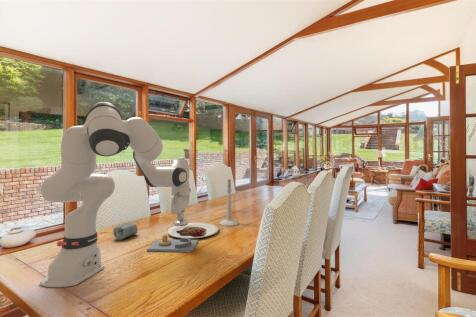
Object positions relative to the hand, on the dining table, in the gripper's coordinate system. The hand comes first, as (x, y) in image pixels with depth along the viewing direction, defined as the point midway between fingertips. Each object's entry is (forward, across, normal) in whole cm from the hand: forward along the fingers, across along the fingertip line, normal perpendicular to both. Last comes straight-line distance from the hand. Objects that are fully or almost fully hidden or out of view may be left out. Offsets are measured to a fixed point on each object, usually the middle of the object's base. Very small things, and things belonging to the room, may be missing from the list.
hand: (180, 218), depth 132 cm
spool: (+15, +13, +35) cm, 40 cm away
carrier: (+14, 0, +4) cm, 15 cm away
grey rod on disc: (+15, +44, -21) cm, 50 cm away
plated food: (+15, +24, -1) cm, 29 cm away
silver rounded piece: (+3, 0, 0) cm, 3 cm away
